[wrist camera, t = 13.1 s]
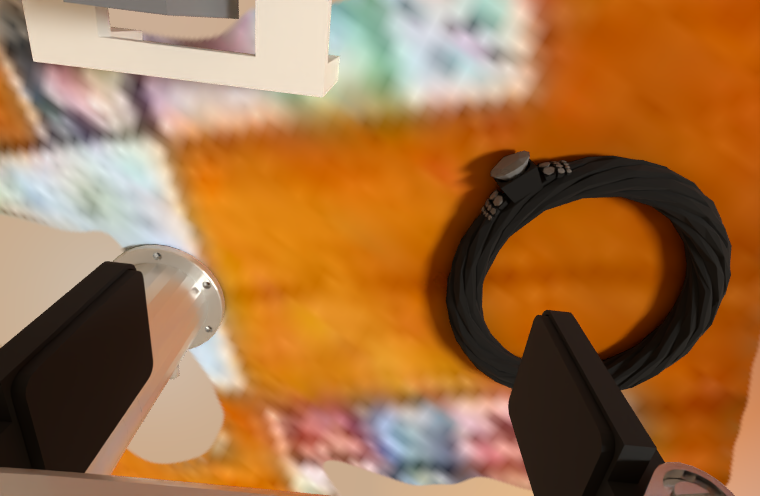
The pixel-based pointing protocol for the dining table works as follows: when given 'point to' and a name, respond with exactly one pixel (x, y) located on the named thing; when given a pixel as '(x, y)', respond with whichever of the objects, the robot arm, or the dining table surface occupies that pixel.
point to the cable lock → (573, 182)
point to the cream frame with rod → (134, 55)
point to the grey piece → (171, 7)
